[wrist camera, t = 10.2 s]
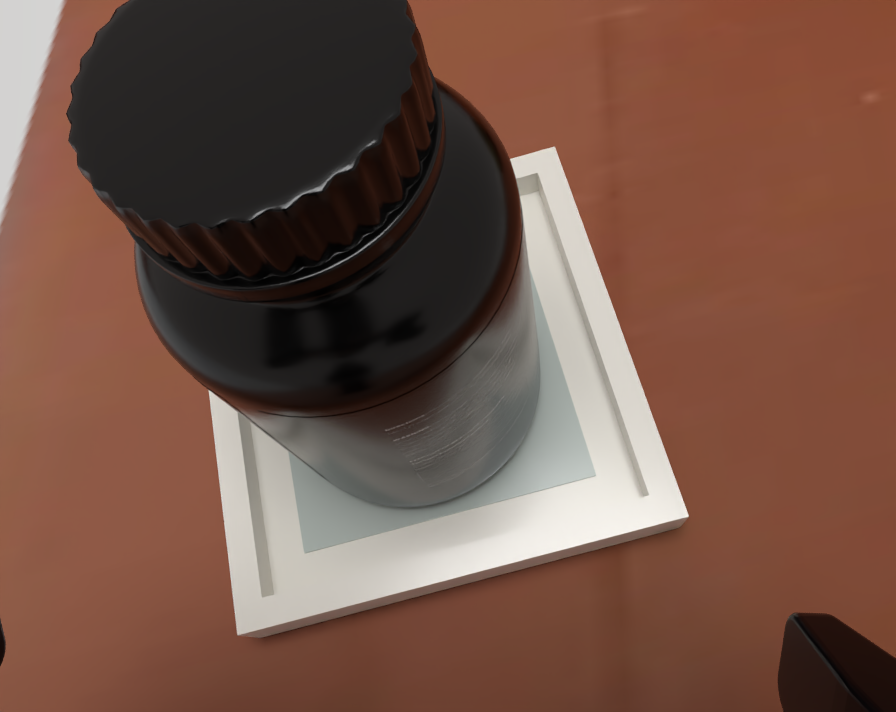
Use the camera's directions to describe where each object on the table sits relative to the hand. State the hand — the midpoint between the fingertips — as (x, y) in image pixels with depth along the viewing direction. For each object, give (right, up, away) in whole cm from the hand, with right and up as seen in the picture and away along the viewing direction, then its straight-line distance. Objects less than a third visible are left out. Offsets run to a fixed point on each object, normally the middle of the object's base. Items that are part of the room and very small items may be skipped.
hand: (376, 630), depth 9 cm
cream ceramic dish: (0, +2, +13) cm, 13 cm away
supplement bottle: (0, +2, +12) cm, 13 cm away
